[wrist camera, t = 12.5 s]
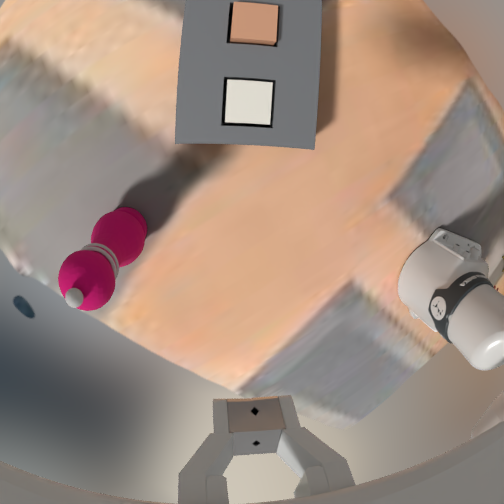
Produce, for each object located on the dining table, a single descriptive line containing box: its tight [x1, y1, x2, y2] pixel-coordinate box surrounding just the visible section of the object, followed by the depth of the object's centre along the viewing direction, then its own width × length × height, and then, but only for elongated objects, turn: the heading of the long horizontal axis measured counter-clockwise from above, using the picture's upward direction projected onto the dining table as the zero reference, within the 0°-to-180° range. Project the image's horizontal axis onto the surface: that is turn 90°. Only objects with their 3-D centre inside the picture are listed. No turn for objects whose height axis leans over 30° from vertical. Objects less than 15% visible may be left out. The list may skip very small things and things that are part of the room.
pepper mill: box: [58, 207, 147, 311], centre depth 31 cm, size 7×7×20 cm
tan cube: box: [229, 2, 278, 47], centre depth 28 cm, size 5×5×5 cm
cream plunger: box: [224, 80, 273, 125], centre depth 33 cm, size 5×5×5 cm
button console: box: [175, 0, 322, 150], centre depth 31 cm, size 16×20×6 cm
